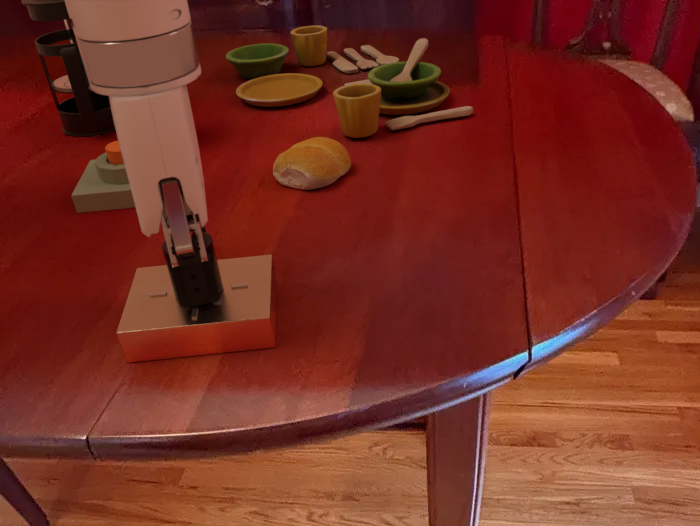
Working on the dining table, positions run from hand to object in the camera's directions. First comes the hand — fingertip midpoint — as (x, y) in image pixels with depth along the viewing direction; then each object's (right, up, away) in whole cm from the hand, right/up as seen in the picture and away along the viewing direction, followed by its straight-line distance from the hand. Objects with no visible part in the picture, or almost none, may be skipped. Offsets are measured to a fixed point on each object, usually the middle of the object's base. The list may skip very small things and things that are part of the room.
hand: (197, 285), depth 60 cm
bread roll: (+8, +16, +24) cm, 30 cm away
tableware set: (+9, +34, +47) cm, 59 cm away
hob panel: (0, -3, +2) cm, 4 cm away
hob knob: (0, 0, 0) cm, 0 cm away
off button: (-13, +17, +22) cm, 31 cm away
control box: (-13, +14, +25) cm, 31 cm away
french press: (-24, +27, +42) cm, 56 cm away
